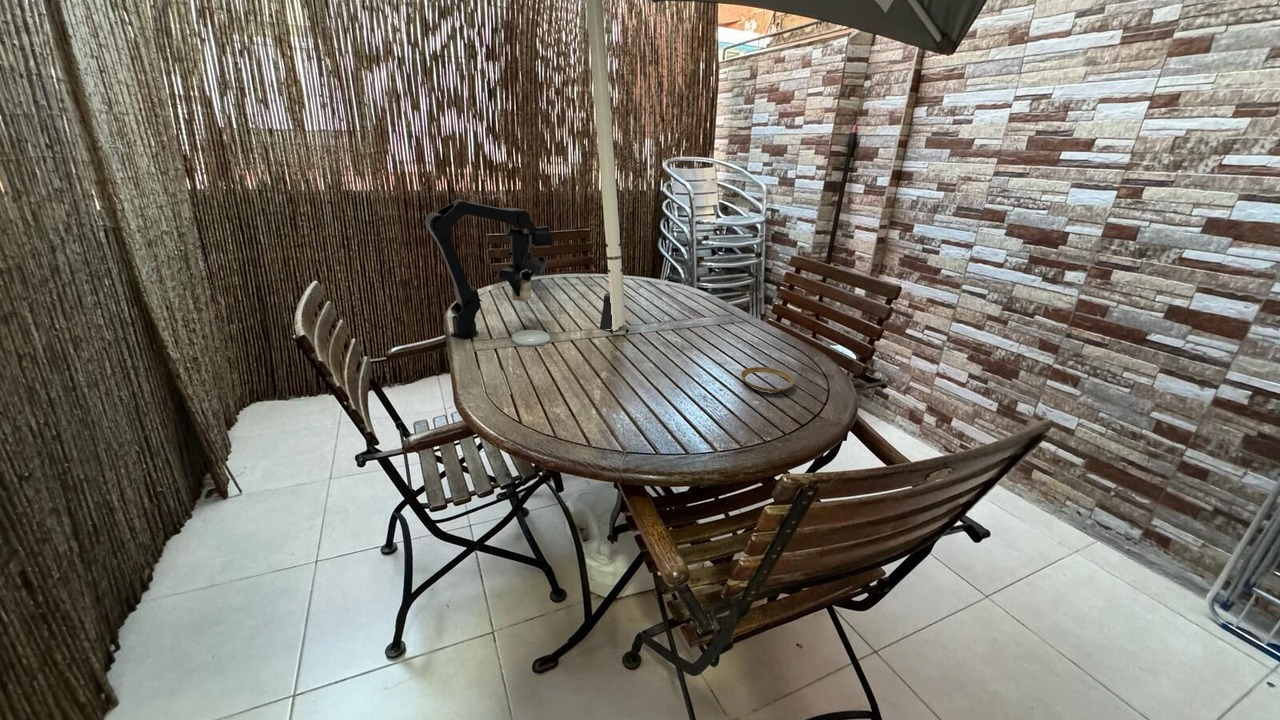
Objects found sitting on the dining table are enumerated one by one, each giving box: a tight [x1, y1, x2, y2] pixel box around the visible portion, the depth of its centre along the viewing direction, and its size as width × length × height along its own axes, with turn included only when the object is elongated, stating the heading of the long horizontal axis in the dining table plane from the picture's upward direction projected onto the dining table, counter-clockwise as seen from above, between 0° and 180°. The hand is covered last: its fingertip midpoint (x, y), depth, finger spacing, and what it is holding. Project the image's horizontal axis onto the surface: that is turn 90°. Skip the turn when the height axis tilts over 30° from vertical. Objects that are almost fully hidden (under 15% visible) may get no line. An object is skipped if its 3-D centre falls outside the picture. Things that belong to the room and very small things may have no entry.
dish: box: [511, 329, 550, 347], centre depth 167 cm, size 12×12×1 cm
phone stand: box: [599, 293, 612, 330], centre depth 181 cm, size 9×6×12 cm, turn 161°
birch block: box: [511, 280, 532, 302], centre depth 174 cm, size 4×4×6 cm
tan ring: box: [740, 366, 795, 392], centre depth 146 cm, size 15×15×3 cm
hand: (521, 294), depth 174 cm, fingers closed on birch block, 4 cm apart
